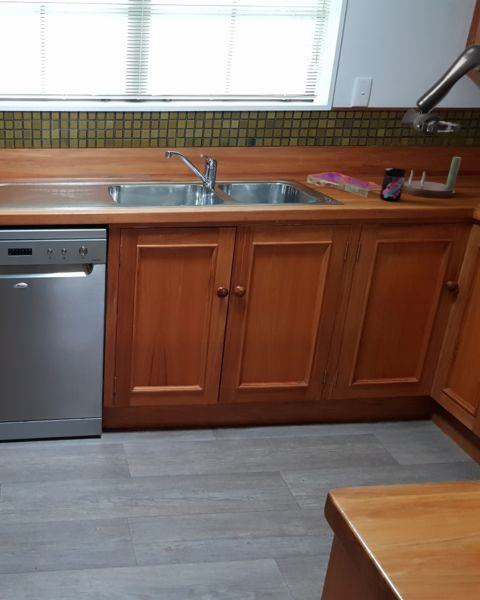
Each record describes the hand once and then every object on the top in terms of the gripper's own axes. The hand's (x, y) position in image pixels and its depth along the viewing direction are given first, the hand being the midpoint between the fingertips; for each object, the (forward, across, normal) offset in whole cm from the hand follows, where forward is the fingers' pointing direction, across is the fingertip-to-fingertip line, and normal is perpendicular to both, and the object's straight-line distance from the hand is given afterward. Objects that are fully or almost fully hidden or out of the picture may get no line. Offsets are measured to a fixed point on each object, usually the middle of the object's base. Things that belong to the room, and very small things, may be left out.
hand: (447, 129), depth 225 cm
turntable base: (+8, -6, +22) cm, 24 cm away
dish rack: (+8, -6, +20) cm, 23 cm away
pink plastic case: (+5, -35, +22) cm, 41 cm away
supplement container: (+22, -25, +22) cm, 40 cm away
